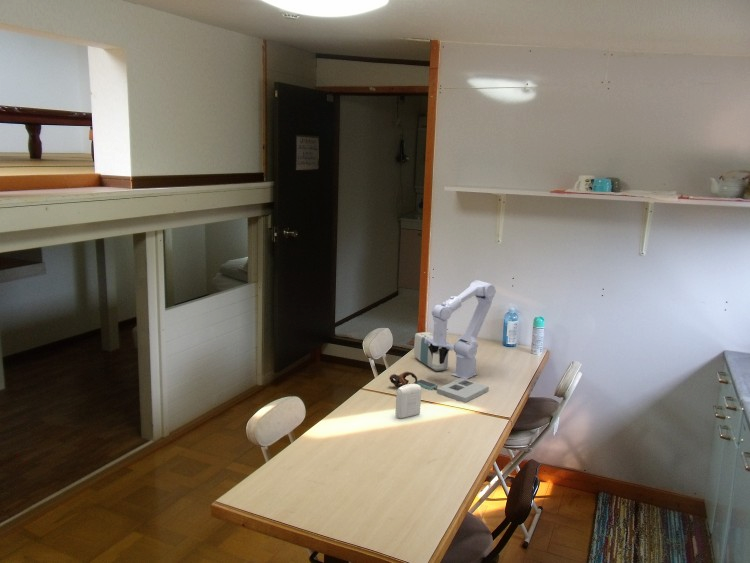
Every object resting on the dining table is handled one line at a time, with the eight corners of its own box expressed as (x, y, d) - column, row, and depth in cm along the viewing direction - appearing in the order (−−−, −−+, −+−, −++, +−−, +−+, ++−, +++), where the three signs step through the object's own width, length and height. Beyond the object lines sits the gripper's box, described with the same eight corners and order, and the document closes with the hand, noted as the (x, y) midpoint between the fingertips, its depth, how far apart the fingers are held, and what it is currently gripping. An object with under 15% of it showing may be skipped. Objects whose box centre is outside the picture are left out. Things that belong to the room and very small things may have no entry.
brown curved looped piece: (413, 384, 268) (419, 372, 263) (412, 401, 261) (419, 388, 256) (387, 377, 267) (393, 365, 262) (385, 393, 260) (391, 381, 255)
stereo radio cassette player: (412, 358, 301) (414, 319, 296) (427, 356, 304) (429, 317, 300) (434, 373, 282) (437, 331, 278) (449, 370, 286) (452, 329, 281)
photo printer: (415, 410, 241) (416, 380, 238) (421, 414, 237) (423, 384, 234) (393, 415, 235) (394, 385, 232) (400, 419, 231) (401, 388, 229)
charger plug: (437, 365, 273) (438, 351, 271) (443, 367, 270) (444, 352, 269) (431, 367, 270) (432, 353, 268) (438, 369, 267) (438, 354, 266)
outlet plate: (460, 382, 272) (461, 377, 271) (488, 391, 263) (488, 385, 262) (436, 393, 258) (437, 387, 258) (465, 402, 249) (465, 397, 249)
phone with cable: (414, 384, 267) (414, 381, 267) (420, 381, 270) (420, 379, 270) (437, 392, 259) (437, 389, 259) (443, 389, 262) (444, 386, 262)
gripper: (421, 330, 269) (419, 360, 271) (448, 338, 259) (446, 368, 262) (430, 327, 274) (429, 356, 277) (457, 334, 264) (455, 364, 267)
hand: (438, 362), depth 270 cm, fingers closed on charger plug, 3 cm apart
